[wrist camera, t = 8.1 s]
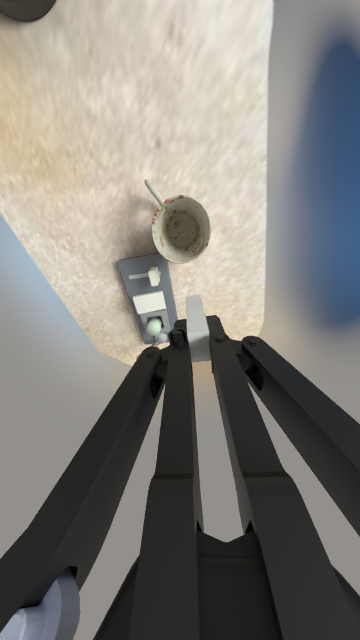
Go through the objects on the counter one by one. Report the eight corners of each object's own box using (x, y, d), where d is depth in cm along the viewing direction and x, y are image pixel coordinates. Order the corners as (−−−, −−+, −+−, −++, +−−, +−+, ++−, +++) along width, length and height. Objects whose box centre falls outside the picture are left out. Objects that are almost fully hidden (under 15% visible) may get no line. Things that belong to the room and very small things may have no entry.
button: (147, 318, 36) (144, 325, 33) (160, 316, 36) (158, 323, 33) (150, 328, 38) (148, 336, 35) (162, 327, 37) (161, 334, 35)
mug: (180, 262, 33) (179, 275, 25) (135, 209, 28) (114, 202, 20) (212, 233, 30) (223, 235, 22) (167, 168, 25) (158, 138, 17)
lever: (155, 335, 40) (133, 357, 34) (162, 337, 39) (140, 360, 33) (157, 342, 41) (136, 364, 35) (163, 344, 40) (143, 367, 34)
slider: (151, 267, 31) (148, 271, 28) (157, 266, 31) (154, 270, 28) (154, 280, 33) (151, 286, 30) (160, 279, 33) (157, 285, 30)
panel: (119, 259, 33) (112, 263, 30) (165, 252, 32) (163, 255, 29) (146, 339, 44) (143, 348, 41) (180, 336, 43) (180, 344, 40)
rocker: (132, 296, 33) (132, 297, 32) (162, 290, 33) (162, 291, 32) (138, 312, 35) (137, 314, 34) (165, 306, 35) (166, 308, 34)
